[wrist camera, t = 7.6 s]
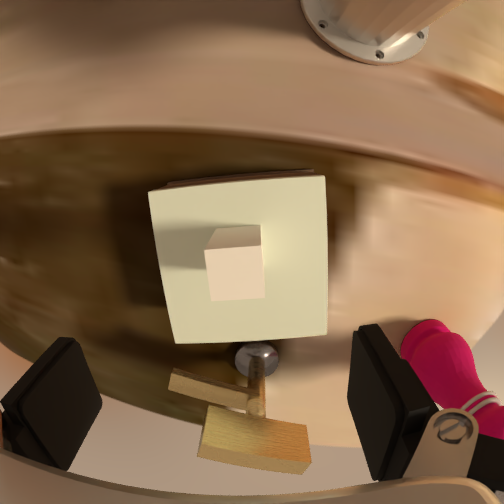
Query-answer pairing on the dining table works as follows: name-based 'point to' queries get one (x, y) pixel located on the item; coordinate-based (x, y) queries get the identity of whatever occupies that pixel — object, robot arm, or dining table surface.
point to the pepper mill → (452, 374)
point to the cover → (243, 258)
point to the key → (244, 424)
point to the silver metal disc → (256, 350)
